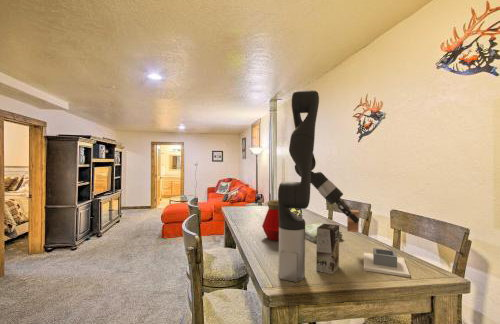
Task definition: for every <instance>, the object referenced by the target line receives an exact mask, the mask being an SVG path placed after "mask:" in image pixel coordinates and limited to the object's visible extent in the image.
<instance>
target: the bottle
mask: <svg viewBox="0 0 500 324" xmlns="http://www.w3.org/2000/svg"><path fill="white" fill-rule="evenodd" d="M266 204H267V207H268V210H267V212H266V214H265V217H264V220H263V223H262V229H263V232H264V234H265V236H266V237H267V239H268V240H270V241H273V242H279V207H278V199H269V200H268V201H267V202H266Z"/></svg>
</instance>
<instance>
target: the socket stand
mask: <svg viewBox="0 0 500 324" xmlns="http://www.w3.org/2000/svg"><path fill="white" fill-rule="evenodd" d="M372 250H373V251H372V253H369V252H363V271H367V272H374V273H379V274H386V275H391V276H399V277H406V278H410V277H411V274H410V272H409V269H408V266H407V264H406V261H405V258H404V257H401V256H400V257H399V256H398V255H397V252H396V250H392V249H383V248H376V247H373V249H372Z"/></svg>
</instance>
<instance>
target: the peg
mask: <svg viewBox="0 0 500 324" xmlns="http://www.w3.org/2000/svg"><path fill="white" fill-rule="evenodd" d="M351 211H352V212H353V214H354V215H355V216H356V217H357V218H358V219H359V221H358V222H357V223H355V222H354V221H353V220H352V219H351V218H350V217H347V227H346V228H347V230H346V231H347V232H350V233H359V227H360V226H359V224H360V223H359V222H360V215H359V213H360V212H359V211H360V210H359V209H353V210H351ZM348 212H349V211H348Z"/></svg>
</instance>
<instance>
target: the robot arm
mask: <svg viewBox="0 0 500 324" xmlns="http://www.w3.org/2000/svg"><path fill="white" fill-rule="evenodd" d="M319 104H320V95H319V93H318V91H317V90H295V91H294V92H293V93H292V96H291V111H292V117H293V118H292V119H293V123H294V128H295V129H294V130H293V131H292V133H291V135H290V138H289V139H290V140H289V146H288V151H289V152H288V153H289V155H290V157H291V160H292V161H293V163H294V164H295V165H294V170H295V173H296V174H297V175H298V176H299V177H300V182H299V181H282V182H280V184H279V186H278V191H277V200H278V207H279V241H278V277H279V280H284V281H290V282H293V283H294V282H296V283H297V282H299V281H302V280H304V278H305V275H306V274H305V270H306V269H305V267H306V238H305V225H306V220H305V219H304V218H303V217H300V216H299V215H296V214H295V213H293V212H292V210H290V209H300V210H304V209H307V208H308V207H309V204H310V200H311V185H312V186H313V187H314V188H315V189H316V190H317V191H318V193H319V194H320V195H321V196H322V197H323V199H325V201H326V202H327V203H328V204H330V206H331V205H334V204H336V205H337V206H336V207H337V208H338V209H339V210H340V211H341V212H342V213H343V214H344V215H345V216H346V217H347V218H348V217H350V218H351V219H352V220H353V221H354V222H355V223H357V222H358V221H359V222H360V218H359V219H358V218H357V217H356V216H355V215H354V214H353V212H352V211H351V210H354V209H353V208H352V207H351V205H349V204H348V203H347V201H346V200H345V199H342V198H341V197H343V195H344V193H343V192H342V190H340V189H339V187H337V186H336V185H335V184H334V183H333V182H332V181H330V179H329V178H328V177H326V175H325V174H324V173H323V172H321V171H317V172H314V171H313V170H314V169H315V167H316V165H317V163H316V159H315V153H314V148H315V134H316V122H317V118H318V117H317V116H318V112H319V111H318V110H319ZM301 114H307V115H306V116H305V118H304V119H303V120H302V116H301ZM348 211H349V212H348Z"/></svg>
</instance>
